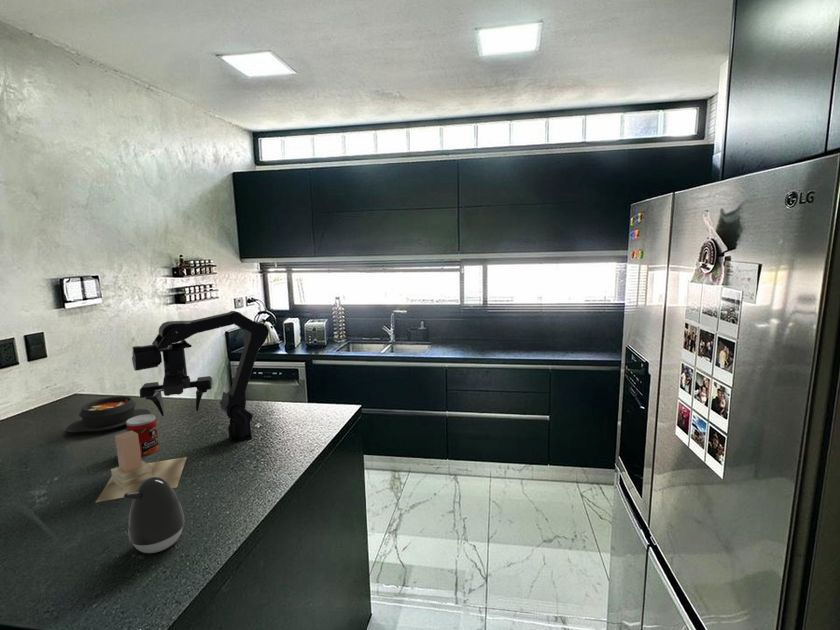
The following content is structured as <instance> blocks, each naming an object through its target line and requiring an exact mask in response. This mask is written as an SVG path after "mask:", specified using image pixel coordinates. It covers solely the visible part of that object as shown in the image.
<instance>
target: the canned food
mask: <svg viewBox="0 0 840 630" xmlns="http://www.w3.org/2000/svg"><path fill="white" fill-rule="evenodd" d="M156 418H157V417H156V416H155V415H154V414H151V413H150V414H146V415H139V416H135V417H132V418H130V419H128V420H127V421H126V425H125V426H126V432H128V431H131V430H132V431H134V432H136V433H137V434H138V438H139V445H140V453H141V457H143V456H148V455H151V454H153V453H155V452H157V451H158V450H159V449H160V441H159V435H158V433H159V432H158V426H157V420H156Z"/></svg>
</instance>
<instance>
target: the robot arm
mask: <svg viewBox="0 0 840 630" xmlns="http://www.w3.org/2000/svg"><path fill="white" fill-rule="evenodd" d="M232 325H235V326H236V327H238V328H239V329H241V330H242V331H244V332H243V349H242V351H241V355H240V358H239V359H240V360H239V362H238V366H237V367H236V368H237V369H236V372H235V374H234V378H233V381H232V385H231V387H230V389H229V390H228V391H227V392H225V391H223V392H222V395H221V399H220V401H219V402H218V404H219V405H220V411H221V412H222V413H223V414H224V415H225V416H226V417H227V418H229V423H228V426H227V430H228V438H229V439H230V442H238V441H244V440H250V439H252V438H253V430H252V420H253V416H254V415H253V413H251V412H250V411H249V410H247V409H246V405H247V404H246V403H247V397H246V396H247V395H246V393H247V388H248V385H249V382H250V378H251V375H252V371H253V369H254V366H255V362H256V359H257V355H258V352H259V351H260V349H261V348H262V347H263V346H264V344H265V343H266V340H267V339H268V336H269V333H270V331H269V327H268V325H266V324H265V323H262V322H259V321H257V320H256V321H255V320H252V319H250V318H249V317H247V316H246V315H244V314H242V312H240V311H236V310H230V311H228V312H225V313H224V312H223V313H220V314H215V315H211V316H206V317H202V318H198V319H197V318H196V319H193V320H171V321H166V322H162V324H161V325H160V326H159V327H158V334H157V336H156V337H155V338H154V340H153V341H152V343H151V344H148V345H141V346H140V345H136V346H132V347H131V349H132V356H131V361H132V365H133V370H134V371H135V372H137V371H141V370H148V369H153V368H158V367H159V365H161V364H162V362H163V369H164V370H163V371H164V375H163V376H164V377H163V382H162V384H160V383H159V382H158V381H155V382H145V383H144V384H143V385H142V386H141V388H140V389H139V397H140V398H145V399H146V400H150V401H151V402H152V403H153V404H154V405H155V406H156V407H157V410H158V412H159V413H160V414H161V417H164V416H165V415H166V413H165V407H164V406H165V405H164V401H163V395H164V396H166V397H169V396H172V395H182V394H183V393H184V390H186V389H192V388H196V391H195V410H196V412H199V409H200V405H201V402H202V401H201V400H202V397H203V394H204V393H207V392H208V391H209V390H212V387H213V384H214V383H213V377H211V375H207V376H201V377H200V376H199V377H198V376H197V379H196V380H193V381H191V378H190V375H188V371H187V370H188V369H187V362H186V353H185V349H188V348H192V347H193V345H192V344H190V343H189V342H188V341H187V340H186V339H189V338H190V337H192V336H194V335H197V334H198V333H203V332H208V331H213V330H215V329H220V328H224V327H229V326H232ZM162 392H163V395H162Z"/></svg>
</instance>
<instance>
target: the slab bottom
mask: <svg viewBox="0 0 840 630" xmlns="http://www.w3.org/2000/svg"><path fill="white" fill-rule="evenodd" d="M111 477H112V480H113V482H114V483H115V484H117V485H118V486H120V487H121V488H123V489H127V488H129V487H132V486H134V485H136V484H139V483H141V482H143V481H145V480H146V479H148V478H151V477H152V472H150V473H147V474H145V475H142V476H140V477H137V478H135V479H132V480H130V481H127V482H125V483H122V482H121V481H119V480H118V479H116V478H115V477H113V476H112V475H111Z"/></svg>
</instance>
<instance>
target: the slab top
mask: <svg viewBox="0 0 840 630" xmlns="http://www.w3.org/2000/svg"><path fill="white" fill-rule="evenodd" d="M148 463H149V462H146V461H144V460H142V467H140V468H138V469H135V470H132V471H130V472H127V473H125V472H124V471H122V470H120V469H119V466H115V467H114V468H111V469H110V472H111V477H112V476H113V477H115V478H116V479H118V480H119V481H121V482H122V483H125V482H127V481H130V480H132V479H135V478H137V477H140V476H142V475H145V474H147V473H150V472H152V469H151V465H149V464H148Z"/></svg>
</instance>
